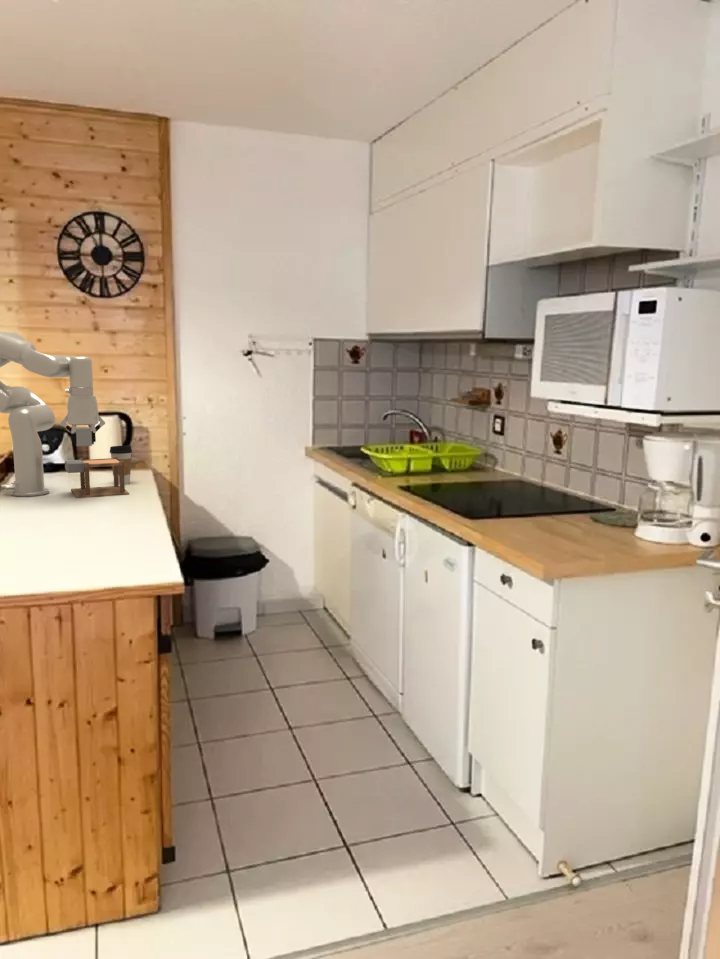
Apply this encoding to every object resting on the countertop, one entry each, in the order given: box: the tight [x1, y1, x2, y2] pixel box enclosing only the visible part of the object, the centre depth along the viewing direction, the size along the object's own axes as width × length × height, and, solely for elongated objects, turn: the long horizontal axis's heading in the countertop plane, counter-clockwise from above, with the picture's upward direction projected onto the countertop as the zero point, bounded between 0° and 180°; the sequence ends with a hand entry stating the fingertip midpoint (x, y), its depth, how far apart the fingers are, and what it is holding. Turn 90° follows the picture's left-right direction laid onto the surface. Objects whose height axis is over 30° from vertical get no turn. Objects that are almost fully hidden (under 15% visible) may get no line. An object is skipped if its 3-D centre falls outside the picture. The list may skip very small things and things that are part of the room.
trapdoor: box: [64, 458, 119, 474], centre depth 273 cm, size 18×10×3 cm, turn 117°
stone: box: [75, 426, 93, 447], centre depth 262 cm, size 5×5×6 cm
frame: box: [70, 457, 130, 499], centre depth 274 cm, size 18×17×12 cm
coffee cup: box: [109, 444, 133, 486], centre depth 294 cm, size 8×8×15 cm
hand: (84, 443), depth 262 cm, fingers closed on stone, 5 cm apart
